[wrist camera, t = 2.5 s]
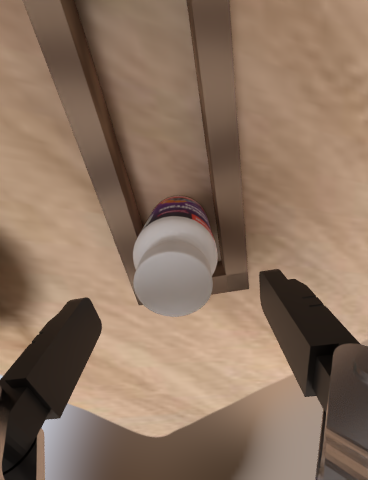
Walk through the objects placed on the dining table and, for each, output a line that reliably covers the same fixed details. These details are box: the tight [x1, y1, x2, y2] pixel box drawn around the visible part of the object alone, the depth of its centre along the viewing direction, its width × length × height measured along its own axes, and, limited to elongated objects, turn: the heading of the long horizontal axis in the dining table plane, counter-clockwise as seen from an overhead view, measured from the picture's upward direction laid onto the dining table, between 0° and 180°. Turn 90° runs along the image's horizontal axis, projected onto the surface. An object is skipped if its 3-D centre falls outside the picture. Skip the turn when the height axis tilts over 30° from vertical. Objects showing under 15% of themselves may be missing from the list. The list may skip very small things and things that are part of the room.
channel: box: [23, 0, 249, 305], centre depth 14 cm, size 26×11×4 cm, turn 11°
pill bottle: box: [133, 196, 218, 317], centre depth 14 cm, size 5×5×10 cm
